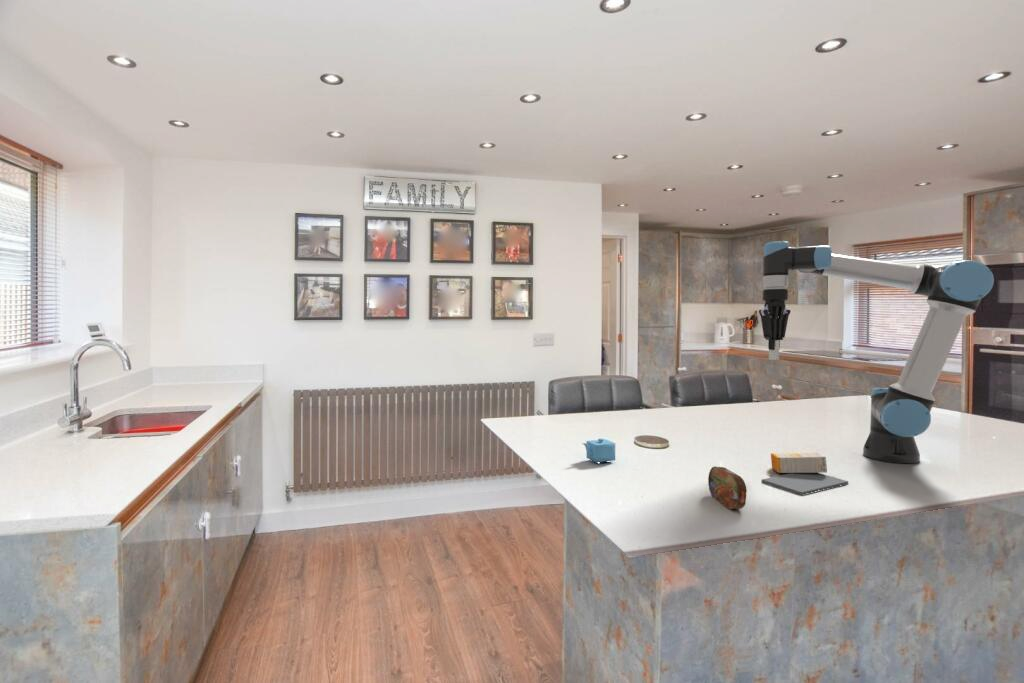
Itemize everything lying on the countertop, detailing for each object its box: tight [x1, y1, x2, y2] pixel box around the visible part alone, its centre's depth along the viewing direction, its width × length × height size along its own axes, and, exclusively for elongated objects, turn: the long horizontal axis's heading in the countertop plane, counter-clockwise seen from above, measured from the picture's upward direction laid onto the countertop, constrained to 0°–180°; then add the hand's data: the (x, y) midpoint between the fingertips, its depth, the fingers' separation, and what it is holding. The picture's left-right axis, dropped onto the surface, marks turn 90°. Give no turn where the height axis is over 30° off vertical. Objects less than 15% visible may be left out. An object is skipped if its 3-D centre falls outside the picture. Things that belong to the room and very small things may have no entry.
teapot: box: [581, 438, 616, 463], centre depth 168 cm, size 12×6×8 cm, turn 111°
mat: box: [761, 473, 849, 496], centre depth 146 cm, size 20×12×1 cm, turn 116°
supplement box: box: [770, 452, 828, 474], centre depth 155 cm, size 8×5×13 cm
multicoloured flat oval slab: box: [707, 466, 748, 510], centre depth 130 cm, size 15×3×8 cm, turn 5°
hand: (773, 359), depth 173 cm, fingers closed
